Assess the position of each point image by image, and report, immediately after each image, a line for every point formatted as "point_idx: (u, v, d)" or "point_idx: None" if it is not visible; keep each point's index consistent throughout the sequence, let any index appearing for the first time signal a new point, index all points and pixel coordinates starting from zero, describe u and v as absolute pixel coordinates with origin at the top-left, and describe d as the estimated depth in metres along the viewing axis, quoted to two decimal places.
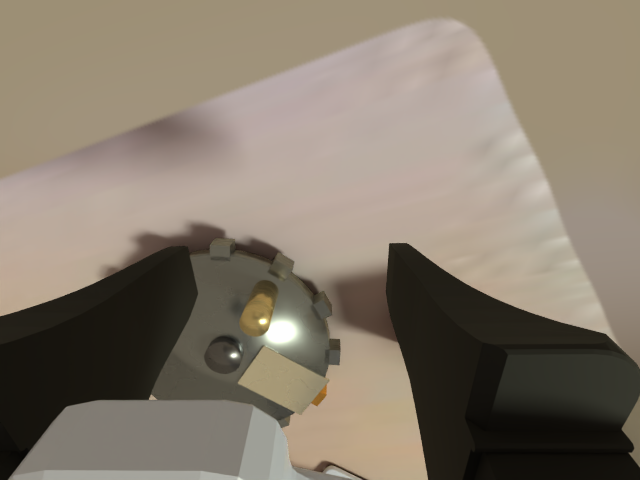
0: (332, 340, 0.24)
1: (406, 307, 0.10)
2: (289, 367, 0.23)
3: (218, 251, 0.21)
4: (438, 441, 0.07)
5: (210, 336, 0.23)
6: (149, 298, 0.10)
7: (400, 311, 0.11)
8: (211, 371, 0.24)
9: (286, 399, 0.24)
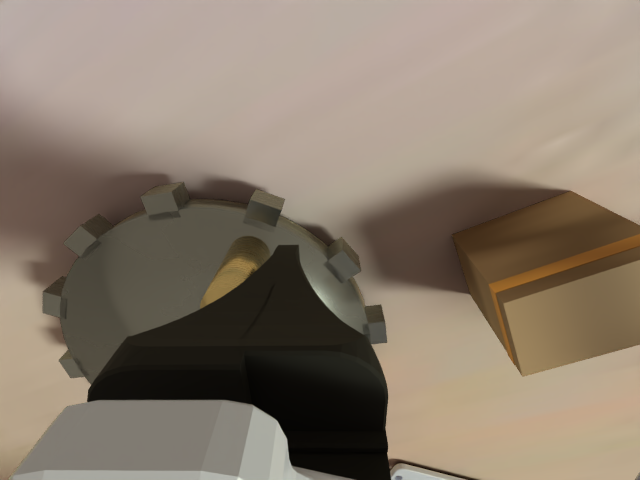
0: (369, 309, 0.16)
1: None
2: None
3: (157, 204, 0.13)
4: None
5: None
6: None
7: None
8: None
9: None
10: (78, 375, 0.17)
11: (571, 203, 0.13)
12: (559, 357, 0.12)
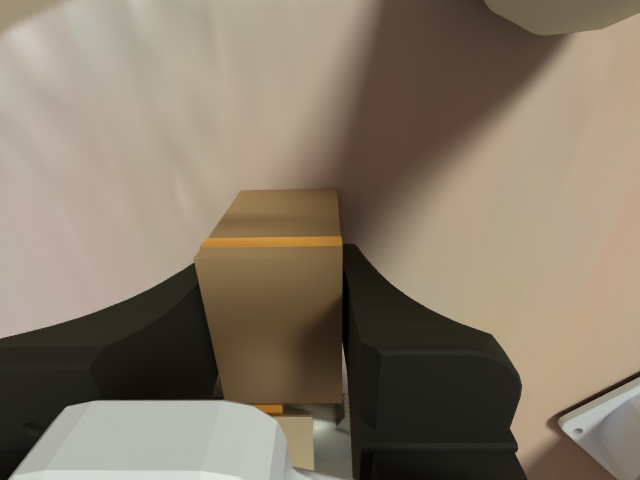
0: None
1: (344, 308, 0.10)
2: None
3: None
4: (354, 442, 0.07)
5: None
6: None
7: (342, 311, 0.11)
8: None
9: (299, 439, 0.16)
10: None
11: None
12: (325, 372, 0.10)
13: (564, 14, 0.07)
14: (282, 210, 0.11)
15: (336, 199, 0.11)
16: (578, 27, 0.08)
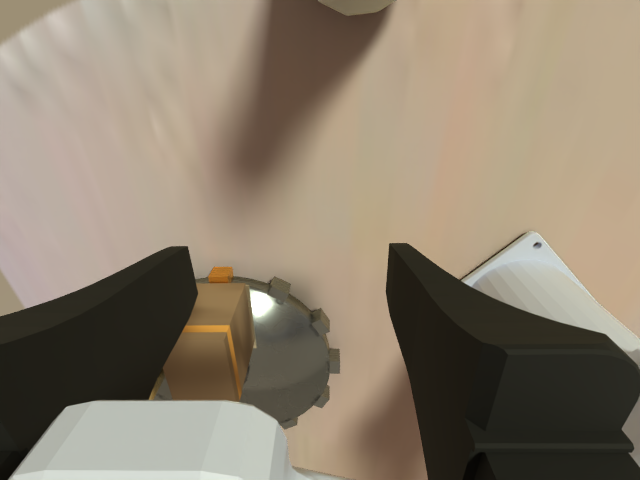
0: None
1: (406, 307, 0.10)
2: None
3: None
4: (438, 442, 0.07)
5: None
6: (149, 298, 0.10)
7: (400, 311, 0.11)
8: (262, 367, 0.25)
9: None
10: (292, 421, 0.27)
11: None
12: (225, 392, 0.19)
13: (342, 3, 0.14)
14: (207, 302, 0.20)
15: (240, 293, 0.20)
16: (359, 10, 0.14)
